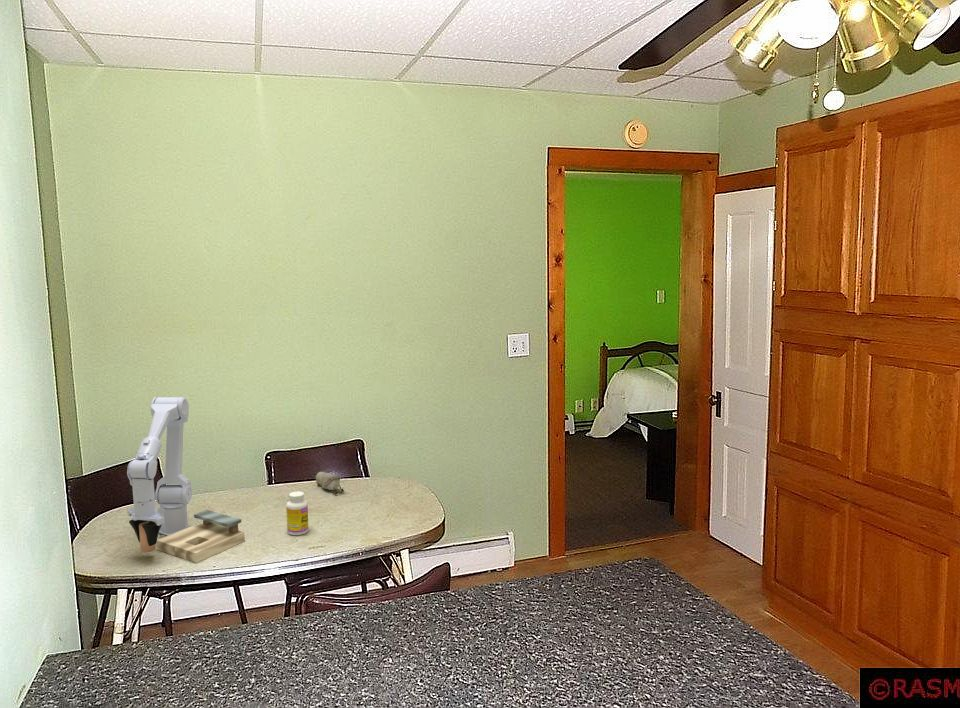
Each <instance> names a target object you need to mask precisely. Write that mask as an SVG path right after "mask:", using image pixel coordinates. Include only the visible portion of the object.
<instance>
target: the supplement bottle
mask: <svg viewBox="0 0 960 708" xmlns="http://www.w3.org/2000/svg"><path fill="white" fill-rule="evenodd" d="M288 498H289V501H288V502H287V503H286V505H285V507H286V529H287V530H286V531H287V533H288V534H289V535H291V536H301V535H305V534H306V533H307V532H308V531H309V513H308V512H309V510H308V509H309V507H308V506H309V505H308V501H307V500H306V499H305V493H304V492H303V491H299V490H297V491H292V492H290V493H289V495H288Z"/></svg>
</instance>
